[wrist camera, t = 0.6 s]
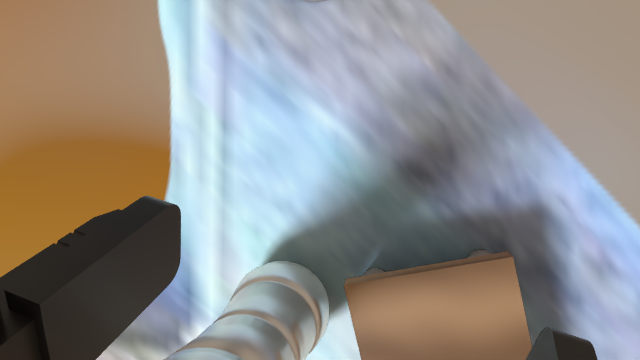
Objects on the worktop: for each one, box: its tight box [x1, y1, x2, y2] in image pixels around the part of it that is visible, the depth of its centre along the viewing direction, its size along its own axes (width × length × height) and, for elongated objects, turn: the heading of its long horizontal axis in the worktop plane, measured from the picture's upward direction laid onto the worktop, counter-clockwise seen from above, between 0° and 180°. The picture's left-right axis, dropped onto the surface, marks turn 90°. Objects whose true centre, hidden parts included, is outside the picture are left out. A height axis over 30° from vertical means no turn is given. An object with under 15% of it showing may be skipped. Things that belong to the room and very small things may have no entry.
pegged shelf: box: [344, 249, 532, 360], centre depth 29 cm, size 10×10×4 cm
